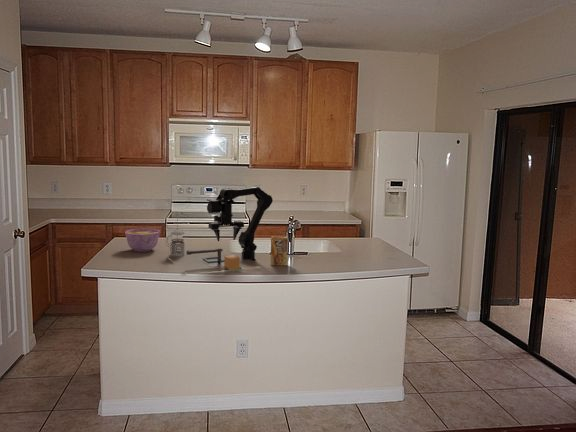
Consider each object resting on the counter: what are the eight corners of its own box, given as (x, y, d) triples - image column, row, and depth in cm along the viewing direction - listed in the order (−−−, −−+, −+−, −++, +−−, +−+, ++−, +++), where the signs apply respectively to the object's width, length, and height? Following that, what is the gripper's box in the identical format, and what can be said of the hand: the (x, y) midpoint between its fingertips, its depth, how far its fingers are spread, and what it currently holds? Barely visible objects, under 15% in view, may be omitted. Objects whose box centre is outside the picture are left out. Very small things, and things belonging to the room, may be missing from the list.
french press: (182, 259, 278) (181, 214, 274) (162, 257, 280) (162, 213, 277) (189, 255, 288) (188, 212, 284) (170, 253, 290) (169, 211, 286)
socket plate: (218, 258, 282) (218, 255, 282) (231, 266, 265) (231, 262, 265) (198, 259, 277) (198, 256, 277) (210, 268, 259) (210, 265, 259)
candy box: (286, 263, 274) (287, 236, 271) (286, 265, 269) (287, 237, 267) (270, 263, 274) (271, 236, 271) (270, 265, 269) (271, 237, 267)
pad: (236, 266, 266) (236, 265, 266) (243, 269, 258) (243, 269, 258) (220, 267, 262) (220, 266, 261) (226, 271, 254) (226, 270, 254)
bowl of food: (119, 249, 297) (119, 230, 296) (150, 245, 311) (150, 227, 309) (134, 255, 283) (133, 235, 281) (166, 251, 296) (166, 232, 294)
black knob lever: (221, 262, 266) (221, 248, 265) (222, 263, 264) (222, 248, 263) (186, 266, 258) (185, 250, 256) (187, 267, 255) (187, 251, 254)
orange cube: (235, 266, 264) (235, 255, 263) (239, 268, 259) (239, 257, 258) (224, 267, 261) (224, 256, 260) (228, 269, 256) (228, 258, 255)
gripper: (236, 209, 279) (236, 236, 282) (204, 211, 270) (204, 239, 272) (244, 212, 270) (244, 240, 272) (212, 213, 261) (212, 243, 263)
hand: (226, 240), depth 270 cm, fingers open, 9 cm apart
